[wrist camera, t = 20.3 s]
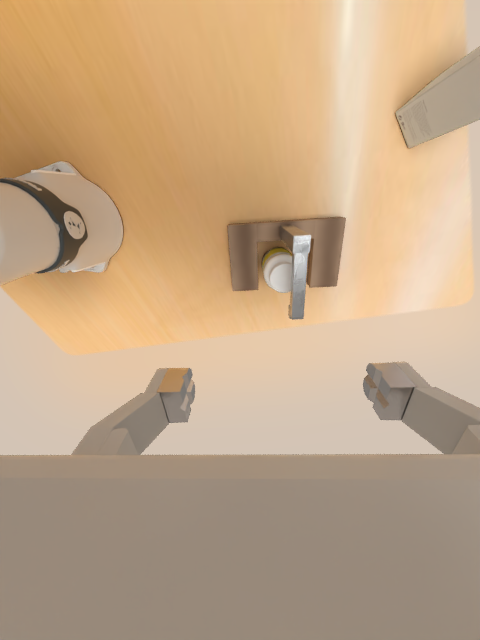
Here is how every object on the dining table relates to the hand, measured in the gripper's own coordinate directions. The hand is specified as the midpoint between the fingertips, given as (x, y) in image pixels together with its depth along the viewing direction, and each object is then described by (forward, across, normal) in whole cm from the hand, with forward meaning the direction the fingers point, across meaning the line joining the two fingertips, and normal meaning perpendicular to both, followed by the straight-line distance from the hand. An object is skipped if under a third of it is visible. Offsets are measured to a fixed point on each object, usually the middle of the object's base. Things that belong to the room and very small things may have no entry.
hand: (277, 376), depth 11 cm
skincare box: (+37, -26, -18) cm, 49 cm away
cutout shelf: (+37, -5, +2) cm, 37 cm away
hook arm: (+37, -5, +2) cm, 37 cm away
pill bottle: (+37, -4, +4) cm, 38 cm away
